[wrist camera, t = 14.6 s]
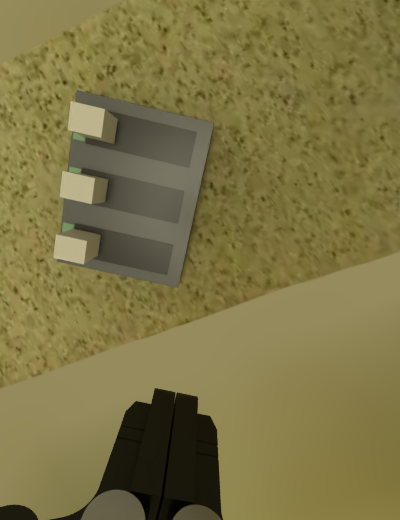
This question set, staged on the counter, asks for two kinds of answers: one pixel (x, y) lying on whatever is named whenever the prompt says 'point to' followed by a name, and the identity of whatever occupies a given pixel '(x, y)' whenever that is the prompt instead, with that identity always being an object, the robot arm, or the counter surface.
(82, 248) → the block
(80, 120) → the block
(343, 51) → the counter surface
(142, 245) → the breaker panel
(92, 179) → the block
